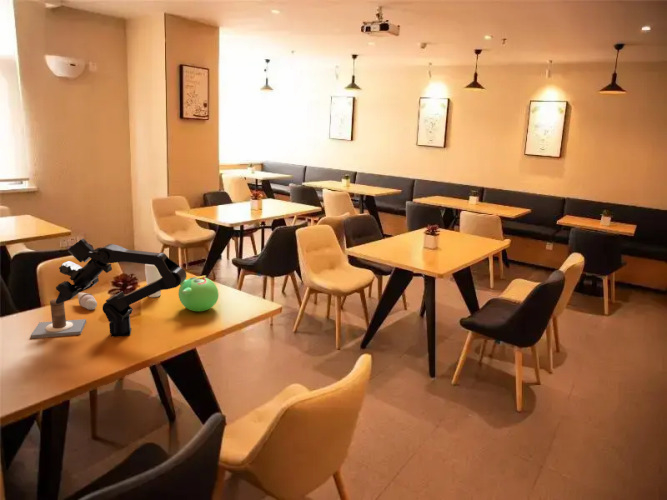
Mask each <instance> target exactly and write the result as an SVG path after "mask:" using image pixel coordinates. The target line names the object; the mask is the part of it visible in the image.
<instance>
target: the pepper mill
mask: <svg viewBox="0 0 667 500" xmlns="http://www.w3.org/2000/svg"><path fill="white" fill-rule="evenodd" d="M56 300H57V298H55V299H51V300H50V301H49V305H50V313H51V322H52V325H53V328H63V327H65V326H66V320H67V319H66V317H67V316H66V308H65V302H62V303H59V304H57V303H56Z"/></svg>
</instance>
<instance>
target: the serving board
mask: <svg viewBox="0 0 667 500" xmlns="http://www.w3.org/2000/svg"><path fill="white" fill-rule="evenodd" d="M86 324H87V319H86V318H84V319H83V318H82V319H81V318H80V319H69V320H67V319H66V326H65V327H63V328H53V325H52V321H43V322H40V321H39V322H38V324H37V325H36V327H35V328H34V329H33V331H32V332H31V334H30V339H39V338H40V339H41V338H52V337H64V336H65V337H67V336H77V335H81V334H82V333H83V330H84V328H85V325H86Z"/></svg>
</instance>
